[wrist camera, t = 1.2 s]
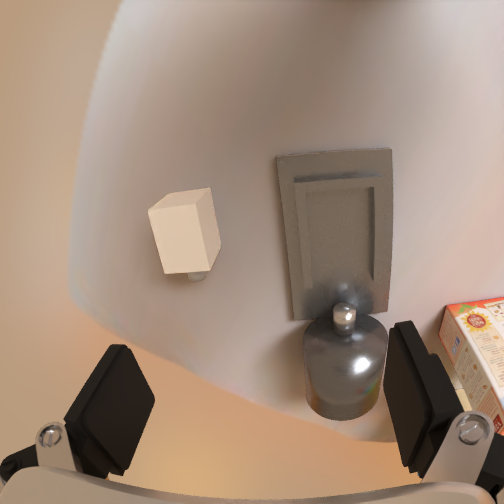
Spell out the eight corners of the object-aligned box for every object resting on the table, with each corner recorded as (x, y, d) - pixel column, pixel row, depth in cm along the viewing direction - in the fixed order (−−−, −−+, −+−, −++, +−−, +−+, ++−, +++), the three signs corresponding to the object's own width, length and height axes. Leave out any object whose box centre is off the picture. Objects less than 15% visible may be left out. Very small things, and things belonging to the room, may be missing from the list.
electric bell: (276, 155, 32) (271, 176, 23) (388, 147, 30) (425, 165, 21) (298, 369, 44) (298, 424, 35) (378, 361, 42) (391, 414, 34)
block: (168, 193, 35) (147, 210, 30) (210, 187, 34) (195, 203, 29) (185, 264, 39) (169, 290, 33) (224, 260, 38) (214, 287, 33)
